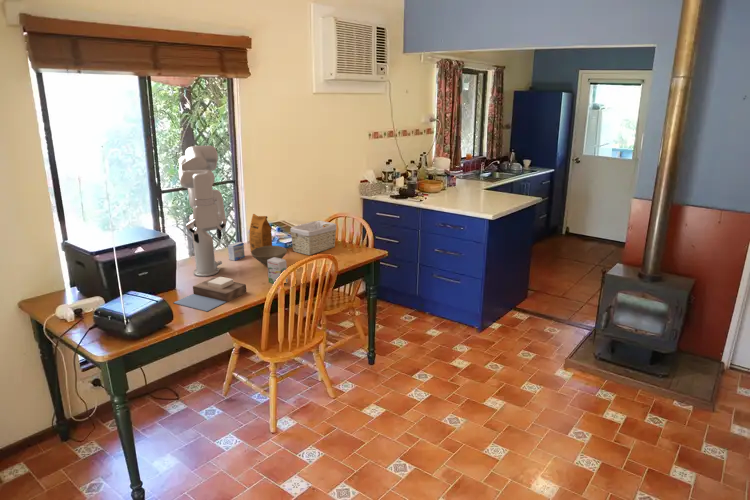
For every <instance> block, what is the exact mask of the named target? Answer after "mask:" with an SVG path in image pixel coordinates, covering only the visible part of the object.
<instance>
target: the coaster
mask: <svg viewBox="0 0 750 500" xmlns="http://www.w3.org/2000/svg"><path fill="white" fill-rule="evenodd" d="M215 278H216V279H213V280H211V281H209V282H208V286H210V287H215V288H219V289H222V288H224V287H227V286H229V285H231V284H233V283H234V282H235V281H234V279H233V278H230V277H229V278H228V277H226V276H225V277H223V276H218V277H215Z"/></svg>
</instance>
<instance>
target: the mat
mask: <svg viewBox="0 0 750 500" xmlns="http://www.w3.org/2000/svg"><path fill="white" fill-rule="evenodd" d="M225 303H227V302H226V301H221V300H217V299H213V298H209V297H204V296H200V295H196V294H194V293H192V294H190V295H187V296H185V297H183V298H180V299H179V300H176V301H174V302H173V304H175V305H178V306H182V307H187V308H191V309H194V310H199V311H201V312H202V311H203V312H206V313H208V312H210V311H212V310H213V309H216V308H218V307H220V306H222V305H224V304H225Z"/></svg>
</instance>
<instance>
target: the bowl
mask: <svg viewBox="0 0 750 500" xmlns="http://www.w3.org/2000/svg"><path fill="white" fill-rule="evenodd" d="M287 252H288V249H287V248H285V247H283V246H281V245H272V246H263V247H259V248H256V249H254V250H252V252H251V251H250V254H251V256H252V257H253V258H254V259H255V260H256V261H258V262H260V264H262V265H265V266H268V264H267V260H268V259H271V258H273V257H276V258H280V259H284V258H285V256H286V254H287Z"/></svg>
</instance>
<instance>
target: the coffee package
mask: <svg viewBox="0 0 750 500" xmlns="http://www.w3.org/2000/svg"><path fill="white" fill-rule="evenodd" d="M268 219H269V218H268V216H267V215H256V214H255V213H253V214H252V217H251V221H250V225H249V245H250V247H249V248H250V253H251V252H252V250H254V249H256V248H259V247H263V246H273V235H272V234H273V233H272V226H271V224H270V222H269V221H268Z"/></svg>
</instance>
